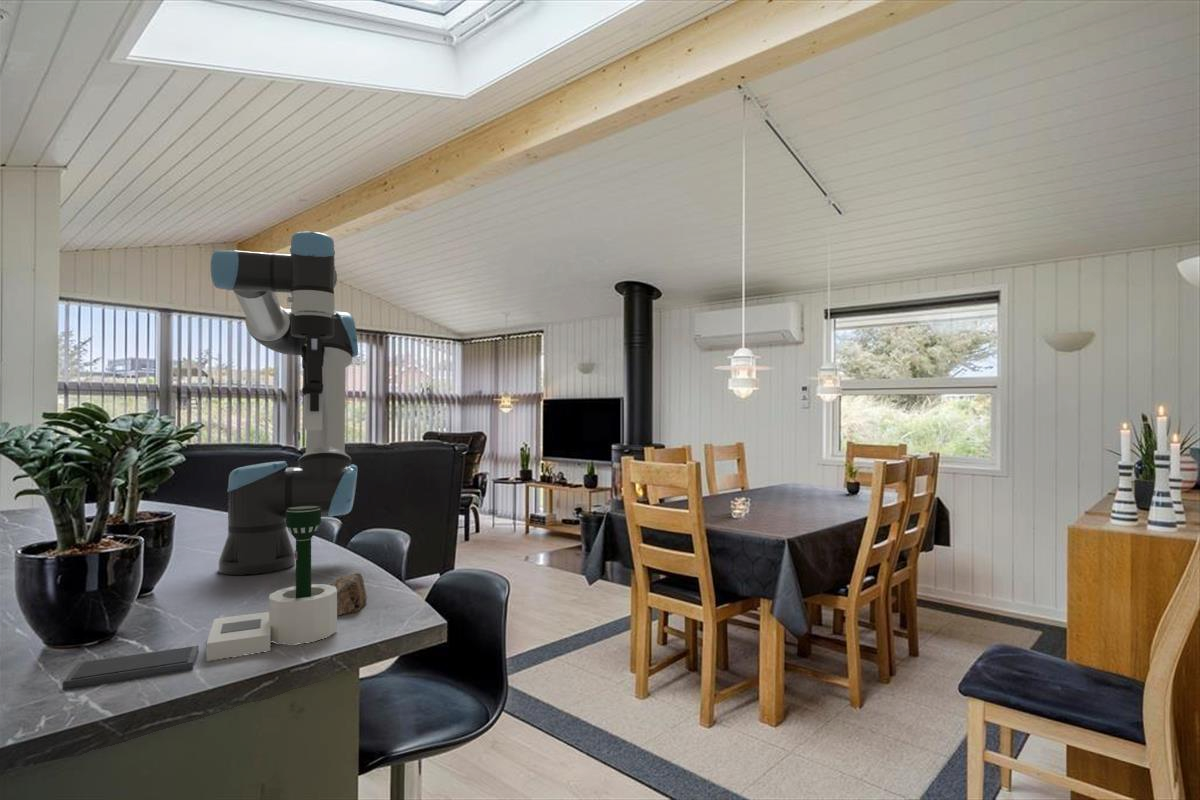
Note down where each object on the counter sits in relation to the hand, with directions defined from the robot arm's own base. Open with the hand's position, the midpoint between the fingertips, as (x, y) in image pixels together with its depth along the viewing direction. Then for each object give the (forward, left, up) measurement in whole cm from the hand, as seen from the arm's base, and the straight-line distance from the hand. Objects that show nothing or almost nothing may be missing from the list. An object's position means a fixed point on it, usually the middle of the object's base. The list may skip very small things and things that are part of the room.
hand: (312, 429), depth 121 cm
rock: (+5, +4, -32) cm, 33 cm away
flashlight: (+20, -2, -32) cm, 38 cm away
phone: (+25, -23, -32) cm, 46 cm away
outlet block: (+20, -6, -32) cm, 38 cm away
